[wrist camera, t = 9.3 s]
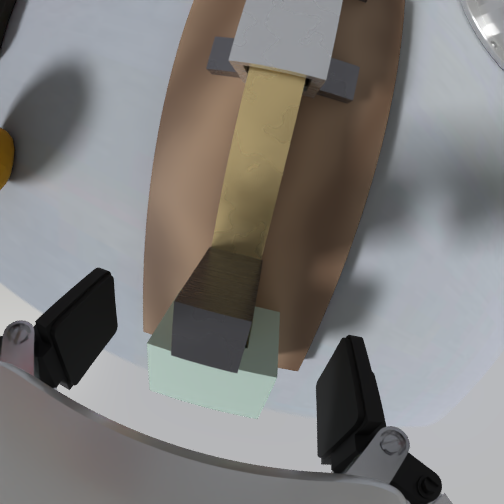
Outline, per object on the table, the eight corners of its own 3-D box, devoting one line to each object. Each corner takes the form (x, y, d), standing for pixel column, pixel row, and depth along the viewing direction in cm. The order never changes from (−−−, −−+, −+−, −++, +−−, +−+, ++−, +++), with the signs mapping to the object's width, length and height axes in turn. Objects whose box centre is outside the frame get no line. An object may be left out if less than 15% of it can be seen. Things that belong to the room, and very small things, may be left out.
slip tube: (313, 45, 13) (337, -27, 5) (241, 336, 21) (221, 426, 13) (264, 35, 13) (248, -41, 5) (204, 326, 21) (169, 411, 13)
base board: (398, 2, 12) (405, -5, 10) (297, 360, 25) (297, 371, 24) (216, -36, 12) (212, -45, 11) (149, 322, 25) (143, 331, 24)
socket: (279, 312, 21) (277, 377, 15) (264, 355, 23) (257, 419, 17) (182, 287, 22) (146, 343, 15) (178, 333, 23) (149, 389, 17)
